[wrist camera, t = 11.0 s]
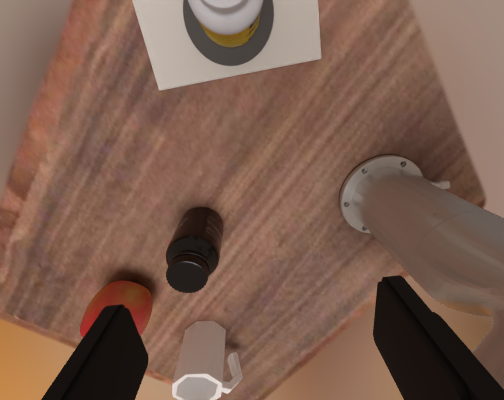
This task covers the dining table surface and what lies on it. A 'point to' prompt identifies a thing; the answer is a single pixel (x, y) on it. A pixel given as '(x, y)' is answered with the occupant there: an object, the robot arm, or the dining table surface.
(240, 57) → the pad
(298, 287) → the dining table surface
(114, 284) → the apple
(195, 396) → the mug
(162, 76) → the board
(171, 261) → the supplement bottle
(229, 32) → the pill bottle
